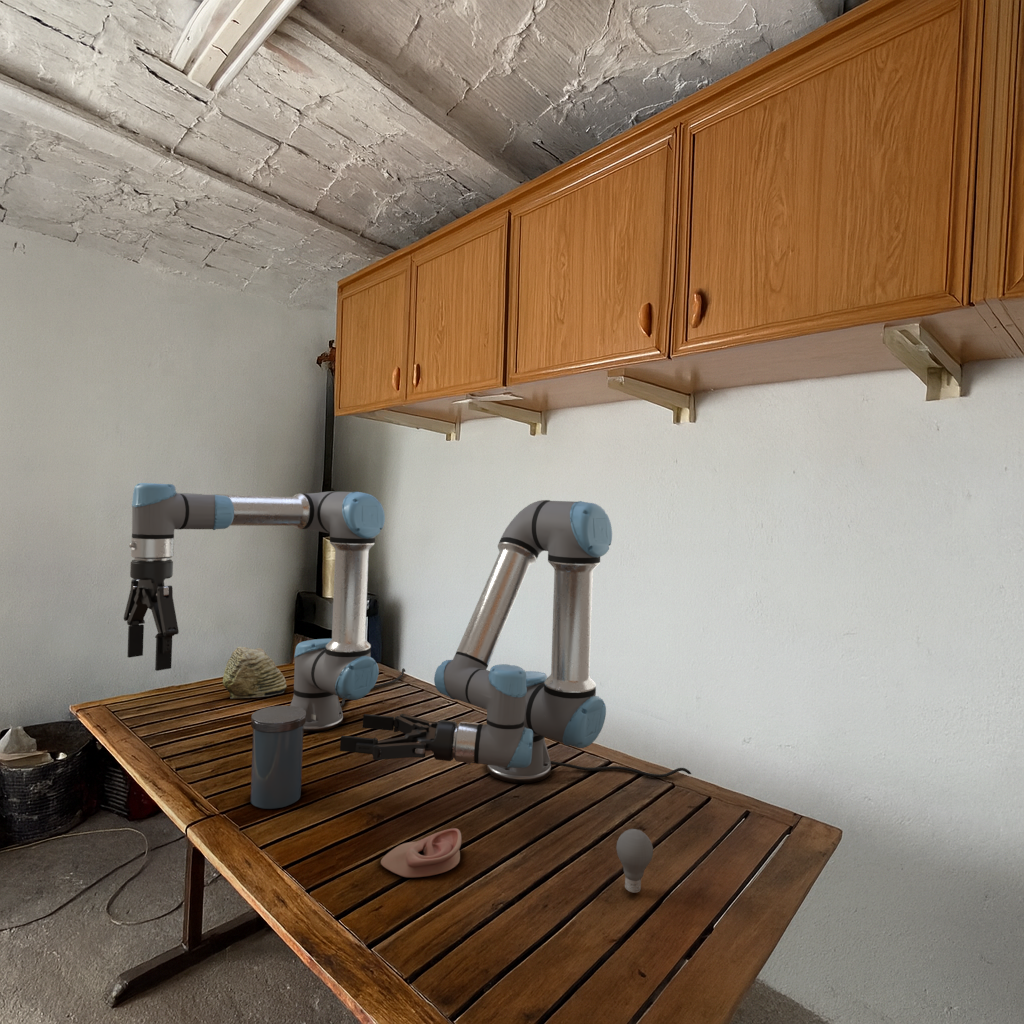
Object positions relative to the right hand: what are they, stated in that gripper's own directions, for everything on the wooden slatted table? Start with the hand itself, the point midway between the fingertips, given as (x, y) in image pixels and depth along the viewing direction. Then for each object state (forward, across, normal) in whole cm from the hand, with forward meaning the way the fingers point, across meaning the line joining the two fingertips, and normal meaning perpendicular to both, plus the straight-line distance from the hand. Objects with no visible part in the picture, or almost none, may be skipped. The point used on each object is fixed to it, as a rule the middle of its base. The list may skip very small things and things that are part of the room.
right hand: (352, 731), depth 129 cm
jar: (+16, +3, -16) cm, 23 cm away
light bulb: (-55, -18, -15) cm, 60 cm away
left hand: (+42, -3, +11) cm, 44 cm away
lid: (+17, +2, +1) cm, 17 cm away
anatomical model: (-19, -15, -16) cm, 29 cm away
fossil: (+53, +65, -15) cm, 85 cm away
